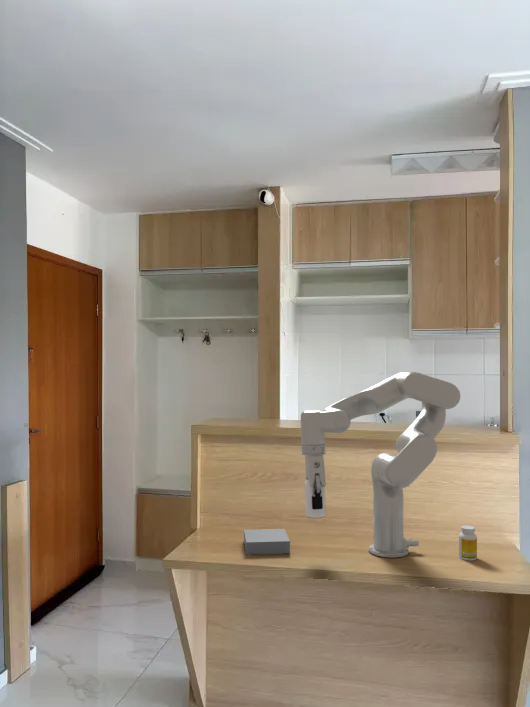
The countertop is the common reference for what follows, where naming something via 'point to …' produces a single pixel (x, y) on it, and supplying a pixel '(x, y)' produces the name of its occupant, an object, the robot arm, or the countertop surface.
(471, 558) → the supplement bottle
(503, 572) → the countertop surface
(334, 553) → the countertop surface
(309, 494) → the can
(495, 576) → the countertop surface
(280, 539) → the base block
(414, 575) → the countertop surface
